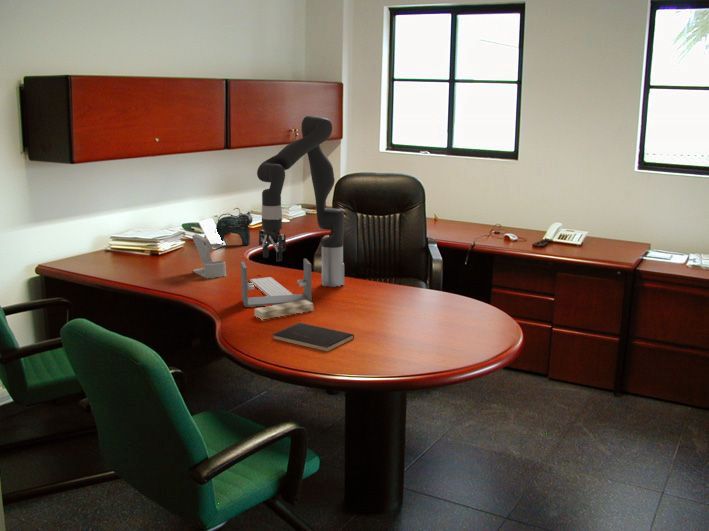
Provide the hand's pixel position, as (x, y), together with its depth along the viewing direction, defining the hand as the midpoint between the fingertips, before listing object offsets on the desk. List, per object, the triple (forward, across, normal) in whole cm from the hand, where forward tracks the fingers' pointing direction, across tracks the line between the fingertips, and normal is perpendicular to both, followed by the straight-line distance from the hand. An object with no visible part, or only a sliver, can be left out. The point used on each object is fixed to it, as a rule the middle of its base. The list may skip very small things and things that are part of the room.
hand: (272, 259), depth 293 cm
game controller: (+19, -112, +55) cm, 126 cm away
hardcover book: (+21, +36, -9) cm, 43 cm away
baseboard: (+20, -27, +17) cm, 38 cm away
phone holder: (+20, -66, +12) cm, 70 cm away
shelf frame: (+20, -8, +8) cm, 23 cm away
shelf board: (+21, +6, +1) cm, 22 cm away
